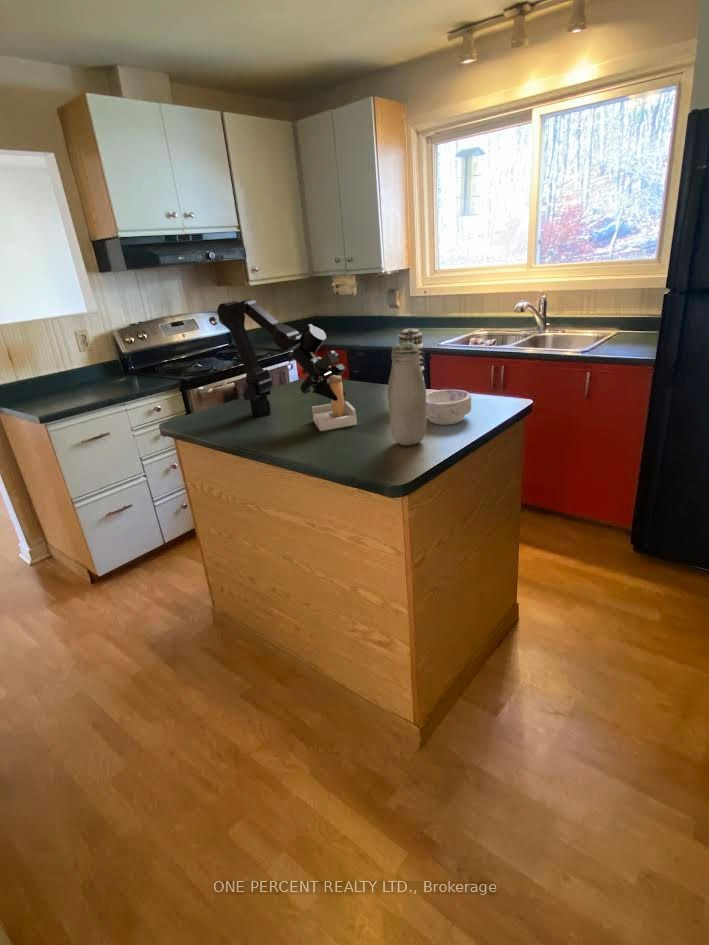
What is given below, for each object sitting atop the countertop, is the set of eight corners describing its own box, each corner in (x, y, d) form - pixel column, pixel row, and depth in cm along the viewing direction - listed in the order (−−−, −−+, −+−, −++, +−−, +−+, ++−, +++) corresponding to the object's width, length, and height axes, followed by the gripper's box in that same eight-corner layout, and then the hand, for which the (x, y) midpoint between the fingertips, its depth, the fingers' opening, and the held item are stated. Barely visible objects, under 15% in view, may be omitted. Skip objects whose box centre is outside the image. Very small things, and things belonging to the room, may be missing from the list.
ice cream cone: (338, 420, 164) (334, 379, 159) (330, 418, 167) (326, 377, 161) (348, 417, 166) (344, 376, 161) (340, 415, 169) (335, 374, 164)
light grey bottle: (402, 453, 139) (396, 348, 128) (385, 442, 148) (378, 343, 136) (434, 444, 142) (430, 342, 131) (415, 434, 151) (411, 337, 140)
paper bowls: (411, 423, 160) (410, 398, 157) (440, 410, 170) (440, 386, 167) (452, 432, 150) (452, 405, 147) (480, 417, 160) (481, 392, 156)
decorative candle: (410, 408, 174) (406, 333, 164) (395, 402, 182) (390, 330, 172) (432, 402, 178) (429, 328, 168) (416, 397, 186) (413, 326, 176)
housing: (320, 431, 162) (318, 415, 160) (313, 421, 172) (311, 406, 170) (357, 424, 164) (355, 409, 162) (348, 415, 174) (347, 400, 172)
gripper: (302, 350, 152) (337, 389, 151) (337, 338, 166) (369, 373, 165) (285, 375, 159) (318, 412, 158) (320, 361, 173) (351, 395, 172)
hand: (340, 398), depth 163 cm, fingers closed on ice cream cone, 4 cm apart
